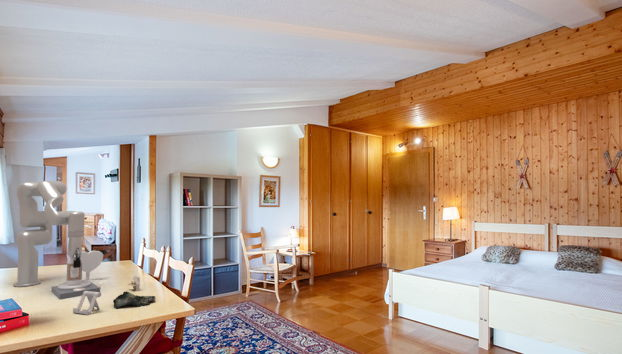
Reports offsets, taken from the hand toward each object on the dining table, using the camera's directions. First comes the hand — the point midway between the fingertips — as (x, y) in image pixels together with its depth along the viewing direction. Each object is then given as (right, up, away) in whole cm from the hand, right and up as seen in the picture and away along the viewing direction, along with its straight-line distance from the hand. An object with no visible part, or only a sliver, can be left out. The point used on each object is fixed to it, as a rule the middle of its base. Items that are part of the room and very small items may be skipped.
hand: (74, 266), depth 199 cm
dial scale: (+2, -13, -3) cm, 14 cm away
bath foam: (0, -10, -1) cm, 10 cm away
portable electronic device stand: (+30, -11, -37) cm, 49 cm away
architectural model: (+33, -14, 0) cm, 35 cm away
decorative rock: (+45, -12, -25) cm, 52 cm away
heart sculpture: (-7, -15, +22) cm, 27 cm away
